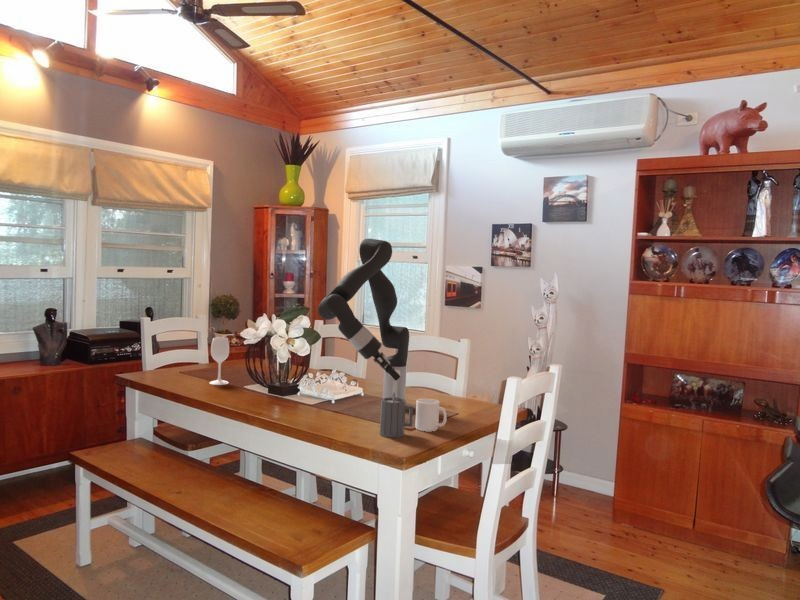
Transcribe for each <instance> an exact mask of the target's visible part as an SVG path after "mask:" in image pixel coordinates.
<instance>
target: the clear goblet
mask: <svg viewBox="0 0 800 600" xmlns="http://www.w3.org/2000/svg"><path fill="white" fill-rule="evenodd" d="M394 370H395V371H396V372H397V373H398V374H399V375H400V370H398V369H394ZM389 377H391V378H393V377H392V376H391V375H390V376H389ZM395 387H396V380H394V378H393V395H392V400H387V401H388V402H401V401H398V400H395Z"/></svg>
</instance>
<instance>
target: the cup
mask: <svg viewBox="0 0 800 600" xmlns="http://www.w3.org/2000/svg"><path fill="white" fill-rule="evenodd" d="M415 406H416V407H415V423H414V424H415V425H414V426H415V429H416V430H417V429H418V430H417V431H419V430H420V432H424V431H425V432H427V433H429V432H430V433H432V431H433V432H436V431H437V430H438V429H439V428H442V427H444V426H445V425H446V423H447V419H448V417H447V411H446V409H445V408H444V407H443V406H440V401H439V400H437V399H435V398H418V399H416V404H415ZM440 411H441V412H442V414H443V421H442V422H441V423H440V422H439V419H440V418H439V417H440Z"/></svg>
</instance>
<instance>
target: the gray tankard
mask: <svg viewBox="0 0 800 600" xmlns="http://www.w3.org/2000/svg"><path fill="white" fill-rule="evenodd" d="M387 400H392V397H387V398H383V397H382V398H381V400H380V401H381V402H380V403H381V404H380V421H379V422H380V423H379V435H380V436H382V437H383V436H384V437H383V438H389V439H390V438H391V439H397V438H402V437H404V436H405V427H413V415H414V414H413V413H414V406H413V405H406V403H407V402H406V401H407V400H406V398H405V399H402V398H396V397H395V400H398V401H401V402H388V401H387ZM406 410H409V411H408V412H409V413H408V422H406Z"/></svg>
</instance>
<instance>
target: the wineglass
mask: <svg viewBox="0 0 800 600" xmlns="http://www.w3.org/2000/svg"><path fill="white" fill-rule="evenodd" d="M210 355H211V357H212V359H213V360H214V361H215V362H216V363H217V365H218V367H217V369H218V371H217V379H216V380H215V379H214V380H211V381H210V382H209V385H212V386H225V385H228V384H229V381H227V380H224V379H222V377H221V376H222V375H221V367H222V363H224V361H225V360H226V359H228V357H229V355H230V343H229V338H228V337H223V336H221V337H213V338H212V340H211V346H210Z"/></svg>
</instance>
